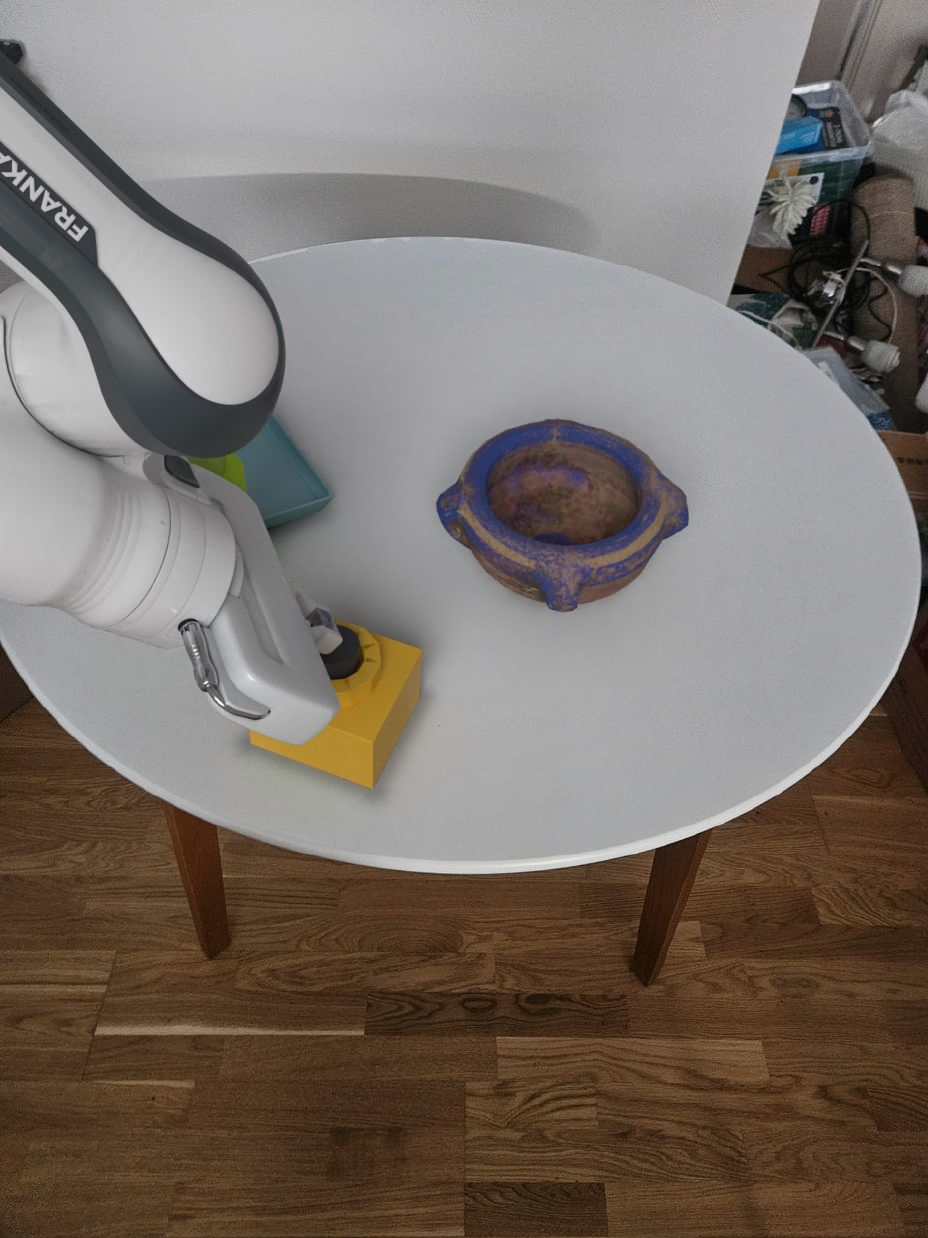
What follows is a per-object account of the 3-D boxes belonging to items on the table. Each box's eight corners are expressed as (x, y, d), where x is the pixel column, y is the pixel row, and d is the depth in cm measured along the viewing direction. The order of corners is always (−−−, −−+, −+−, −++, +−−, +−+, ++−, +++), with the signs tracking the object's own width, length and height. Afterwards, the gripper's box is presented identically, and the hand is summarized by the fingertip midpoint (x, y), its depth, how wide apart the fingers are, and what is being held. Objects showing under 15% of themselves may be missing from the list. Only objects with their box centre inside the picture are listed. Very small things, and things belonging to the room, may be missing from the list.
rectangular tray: (142, 385, 100) (138, 364, 98) (227, 363, 103) (224, 342, 101) (242, 547, 86) (240, 527, 84) (336, 515, 89) (335, 495, 88)
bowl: (409, 547, 87) (413, 461, 80) (553, 471, 96) (569, 387, 88) (544, 675, 79) (563, 593, 72) (689, 579, 88) (719, 497, 80)
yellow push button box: (250, 743, 73) (239, 679, 67) (305, 657, 79) (299, 591, 72) (372, 789, 71) (373, 728, 65) (419, 698, 77) (423, 633, 71)
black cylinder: (300, 669, 68) (298, 654, 67) (322, 633, 71) (322, 618, 69) (346, 686, 68) (346, 671, 66) (368, 649, 70) (368, 634, 69)
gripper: (246, 669, 49) (417, 721, 60) (158, 426, 61) (314, 505, 72) (171, 743, 51) (349, 781, 62) (100, 494, 63) (260, 562, 74)
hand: (330, 632), depth 67 cm, fingers closed
